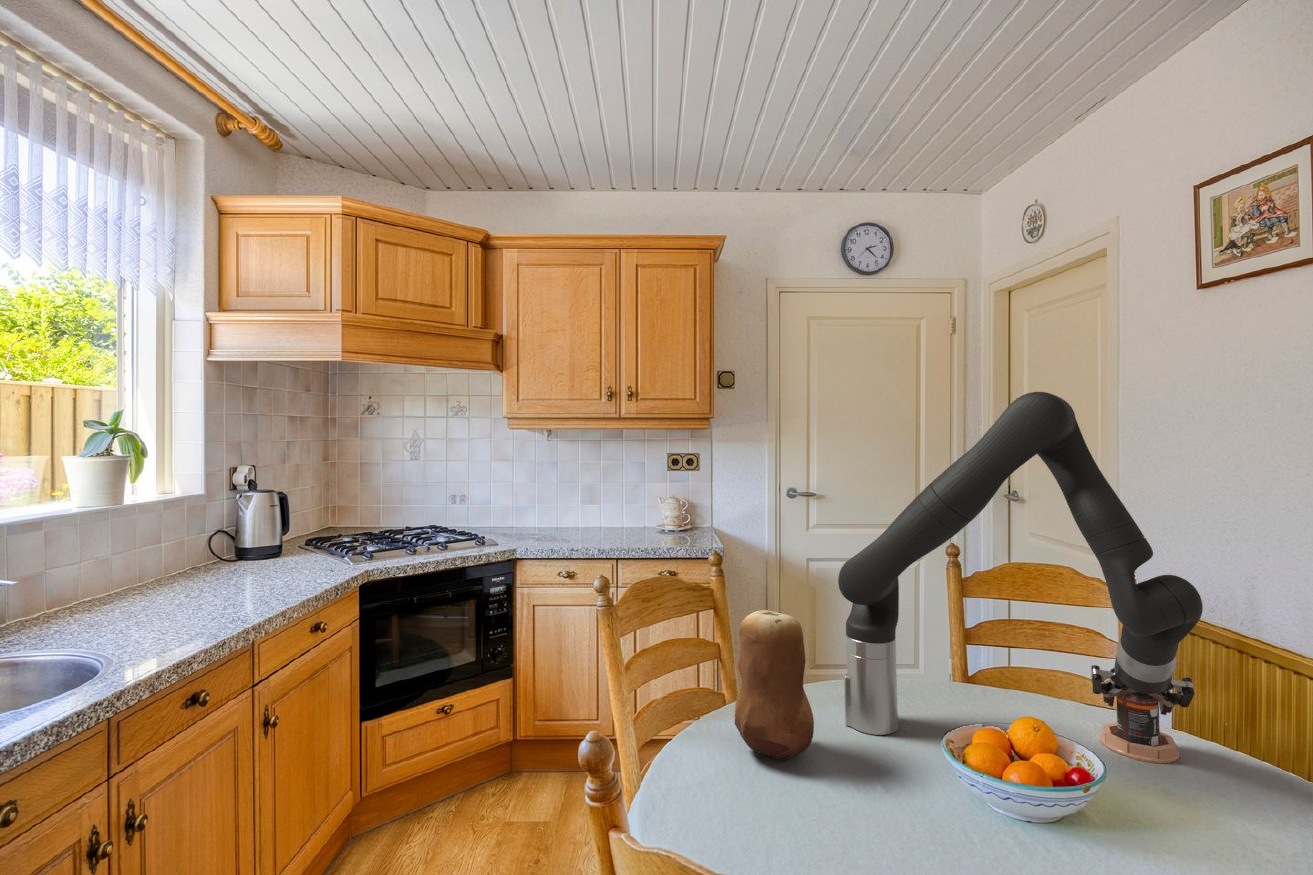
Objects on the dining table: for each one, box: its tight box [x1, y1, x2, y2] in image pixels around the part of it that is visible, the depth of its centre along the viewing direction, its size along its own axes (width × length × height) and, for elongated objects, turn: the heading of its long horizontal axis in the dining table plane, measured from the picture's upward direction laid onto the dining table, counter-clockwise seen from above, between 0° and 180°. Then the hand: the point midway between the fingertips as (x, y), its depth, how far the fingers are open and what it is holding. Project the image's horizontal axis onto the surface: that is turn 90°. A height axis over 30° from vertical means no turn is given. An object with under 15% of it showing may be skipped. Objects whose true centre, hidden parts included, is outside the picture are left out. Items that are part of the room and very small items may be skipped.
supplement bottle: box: [1115, 693, 1161, 747], centre depth 108 cm, size 6×6×11 cm
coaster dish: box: [1099, 721, 1180, 764], centre depth 108 cm, size 11×11×2 cm
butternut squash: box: [734, 609, 815, 761], centre depth 109 cm, size 14×13×25 cm
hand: (1135, 705), depth 110 cm, fingers open, 7 cm apart
